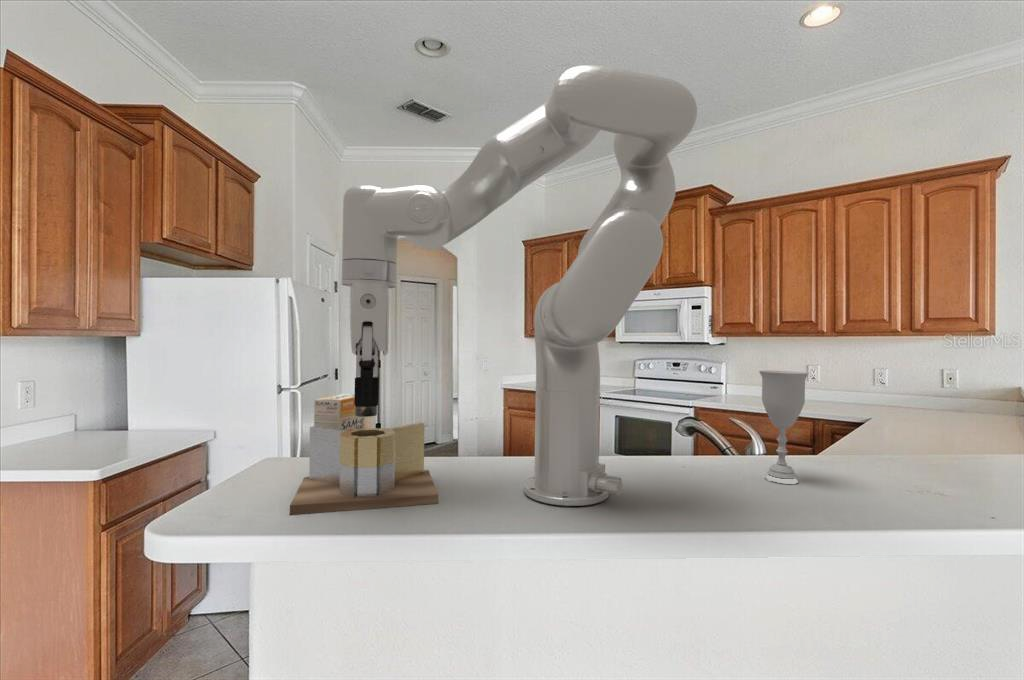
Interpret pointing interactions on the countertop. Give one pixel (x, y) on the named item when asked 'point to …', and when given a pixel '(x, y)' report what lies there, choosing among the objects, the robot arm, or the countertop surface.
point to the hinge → (366, 457)
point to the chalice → (783, 410)
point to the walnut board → (330, 499)
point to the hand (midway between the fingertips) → (366, 403)
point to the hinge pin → (365, 410)
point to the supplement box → (337, 412)
